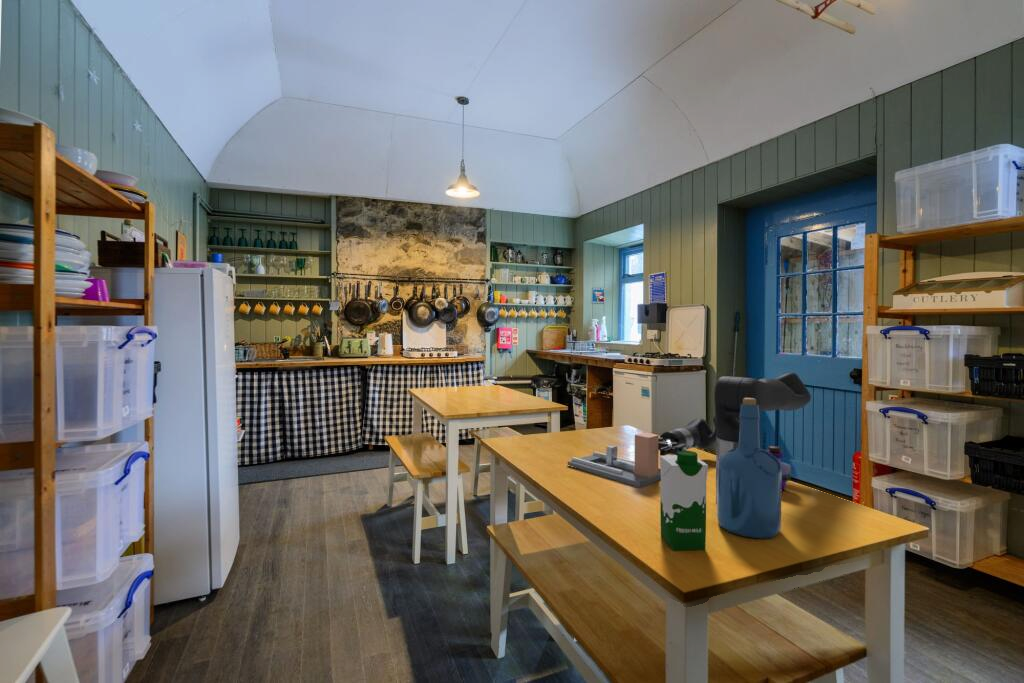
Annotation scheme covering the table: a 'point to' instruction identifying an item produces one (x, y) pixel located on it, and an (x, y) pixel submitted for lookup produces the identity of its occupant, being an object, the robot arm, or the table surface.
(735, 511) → the wine bottle
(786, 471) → the potion bottle
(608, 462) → the grey l-shaped rod
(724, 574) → the table surface
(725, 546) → the table surface
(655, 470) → the block
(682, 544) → the milk carton
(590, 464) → the track
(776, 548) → the table surface
